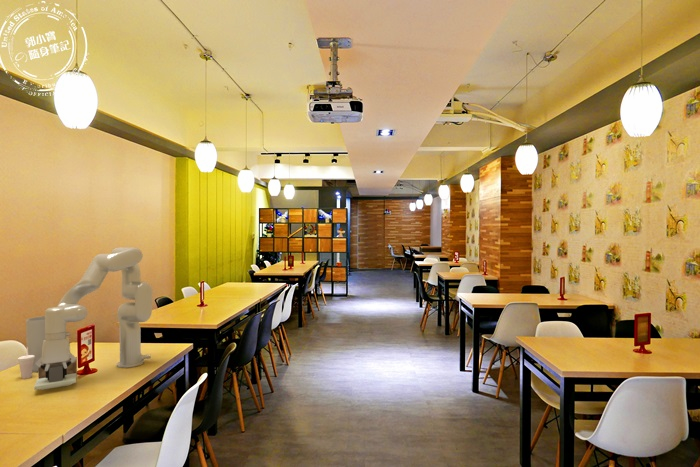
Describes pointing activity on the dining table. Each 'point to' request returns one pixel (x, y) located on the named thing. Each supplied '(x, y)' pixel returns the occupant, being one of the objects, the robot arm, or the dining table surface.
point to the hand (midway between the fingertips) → (56, 377)
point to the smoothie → (26, 365)
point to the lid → (55, 378)
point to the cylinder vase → (35, 338)
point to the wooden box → (70, 369)
